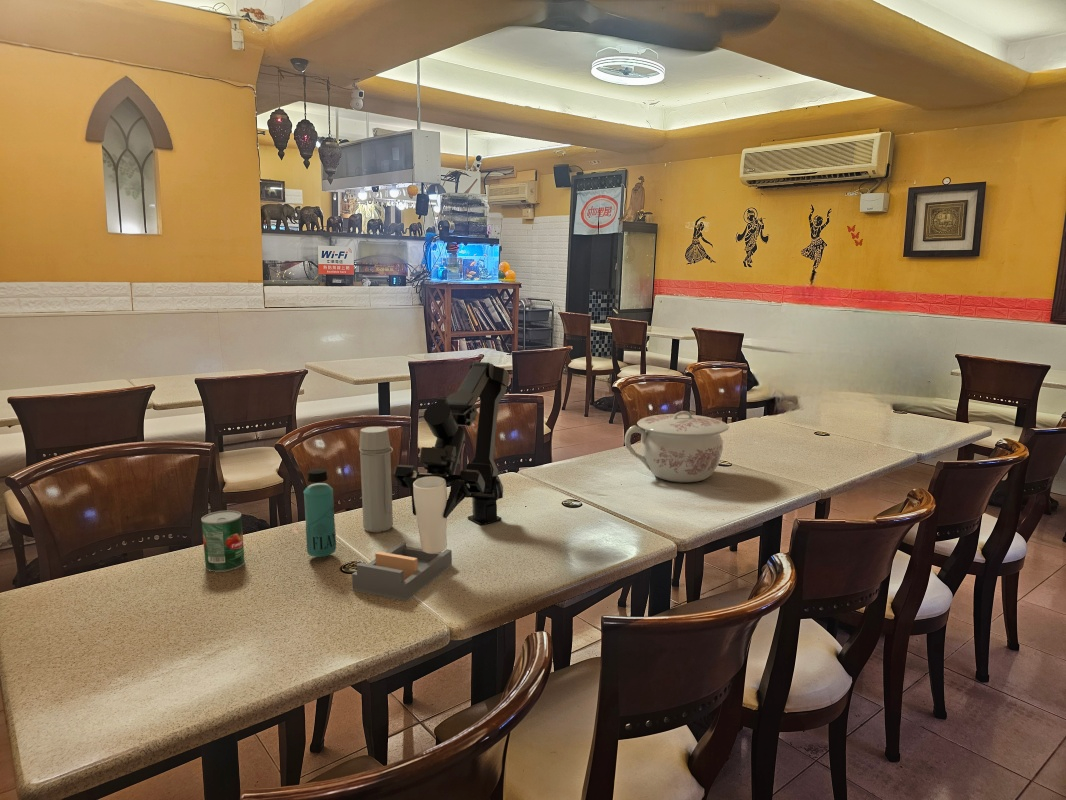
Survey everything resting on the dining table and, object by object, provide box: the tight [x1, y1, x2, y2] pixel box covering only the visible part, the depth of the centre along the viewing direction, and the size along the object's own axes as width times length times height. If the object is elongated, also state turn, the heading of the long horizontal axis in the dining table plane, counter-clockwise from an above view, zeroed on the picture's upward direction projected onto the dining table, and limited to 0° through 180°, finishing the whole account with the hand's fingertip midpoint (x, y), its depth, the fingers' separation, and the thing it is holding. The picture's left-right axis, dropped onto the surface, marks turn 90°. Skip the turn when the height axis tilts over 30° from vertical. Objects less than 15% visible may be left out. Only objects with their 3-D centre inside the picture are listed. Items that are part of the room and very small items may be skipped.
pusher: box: [374, 551, 418, 580], centre depth 144 cm, size 1×9×5 cm, turn 68°
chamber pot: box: [624, 410, 730, 484], centre depth 217 cm, size 28×28×21 cm
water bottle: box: [358, 426, 394, 533], centre depth 172 cm, size 9×8×25 cm
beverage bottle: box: [303, 468, 337, 558], centre depth 156 cm, size 6×7×20 cm
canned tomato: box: [200, 510, 246, 573], centre depth 153 cm, size 8×8×11 cm
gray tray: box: [351, 541, 453, 602], centre depth 147 cm, size 18×12×6 cm
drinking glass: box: [413, 476, 448, 554], centre depth 146 cm, size 7×7×15 cm
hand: (429, 515), depth 145 cm, fingers closed on drinking glass, 6 cm apart
